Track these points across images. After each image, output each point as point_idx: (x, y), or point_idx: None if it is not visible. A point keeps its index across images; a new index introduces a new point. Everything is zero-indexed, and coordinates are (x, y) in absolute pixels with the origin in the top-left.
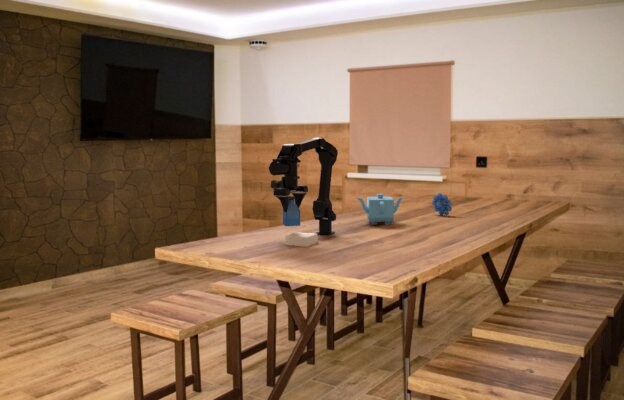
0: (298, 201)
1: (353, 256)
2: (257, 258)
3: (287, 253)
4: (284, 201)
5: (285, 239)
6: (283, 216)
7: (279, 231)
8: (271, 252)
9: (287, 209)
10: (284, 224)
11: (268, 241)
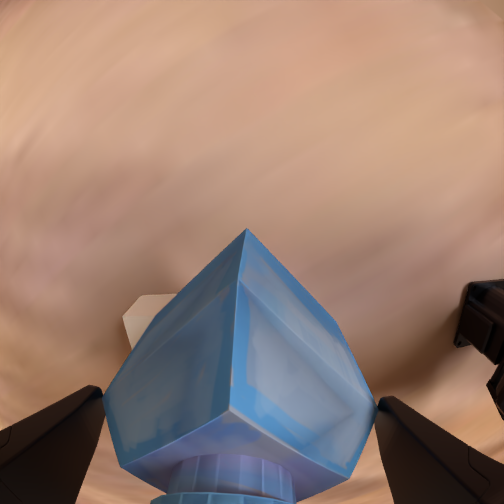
0: (409, 500)
1: (143, 496)
2: None
3: (42, 369)
4: (13, 487)
5: (129, 308)
6: (207, 280)
7: (466, 65)
8: (16, 314)
9: (95, 438)
10: (190, 282)
11: (175, 147)
